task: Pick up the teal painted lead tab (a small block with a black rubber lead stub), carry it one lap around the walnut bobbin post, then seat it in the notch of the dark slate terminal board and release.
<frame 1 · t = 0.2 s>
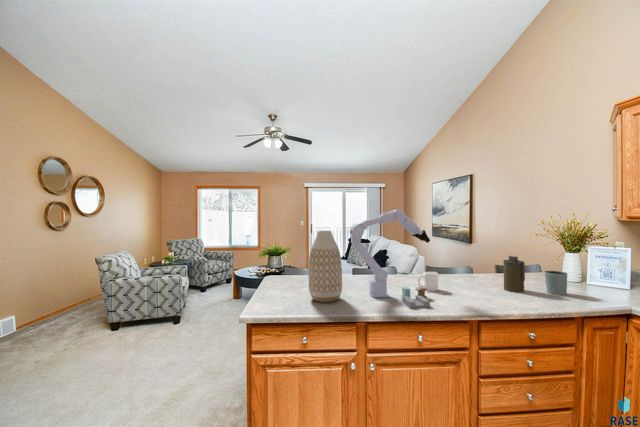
hand: (426, 240, 167), 31 cm above the worktop, tool tilted 45°, fingers open, 7 cm apart
bobbin: (421, 297, 160), on the worktop
cup: (427, 289, 176), on the worktop
vase: (325, 299, 160), on the worktop
grey pot: (556, 293, 164), on the worktop
board: (415, 304, 148), on the worktop
tab: (406, 299, 158), on the worktop
canister: (514, 290, 171), on the worktop
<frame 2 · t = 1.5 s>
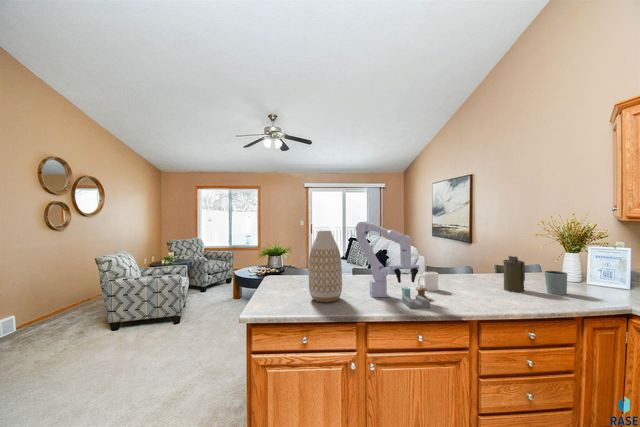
hand: (406, 282, 158), 9 cm above the worktop, tool pointing down, fingers open, 7 cm apart
nothing on the worktop moved.
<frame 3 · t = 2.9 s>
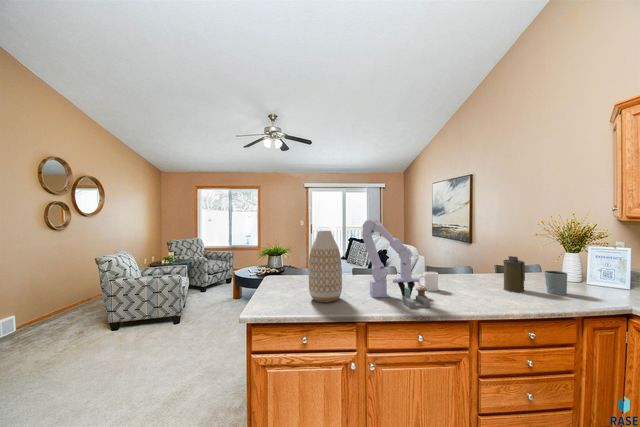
hand: (406, 295, 158), 2 cm above the worktop, tool pointing down, fingers closed on tab, 3 cm apart
tab: (406, 298, 158), on the worktop, touching gripper
everything else where it was.
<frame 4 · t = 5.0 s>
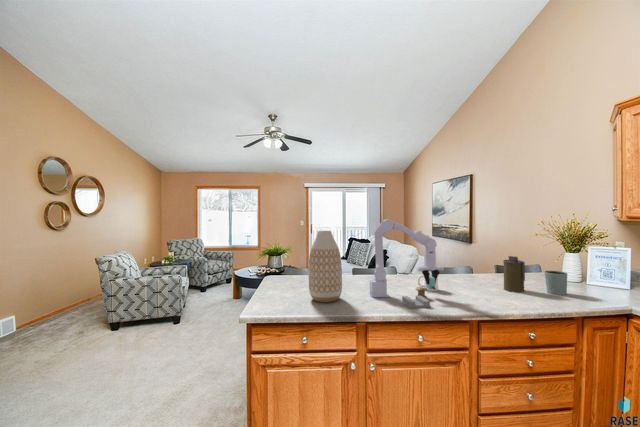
hand: (430, 283, 160), 7 cm above the worktop, tool pointing down, fingers closed on tab, 3 cm apart
tab: (430, 288, 160), point 5 cm above the worktop, touching gripper
everything else where it was.
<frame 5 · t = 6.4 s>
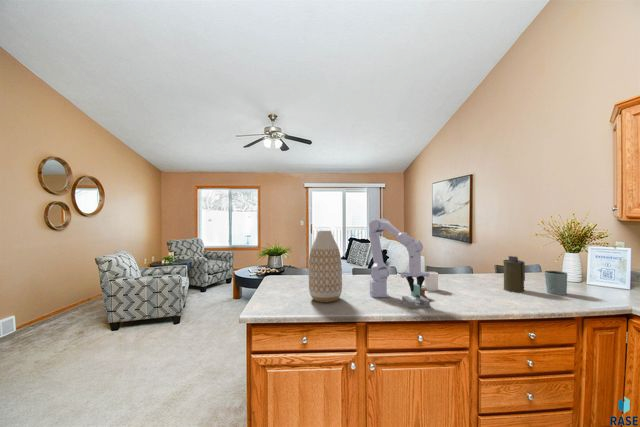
hand: (415, 291, 148), 7 cm above the worktop, tool pointing down, fingers closed on tab, 3 cm apart
tab: (415, 296, 148), point 4 cm above the worktop, touching gripper
everything else where it was.
when the fingers open (4 cm above the worktop, at t = 7.2 s): tab stays where it is, resting on board.
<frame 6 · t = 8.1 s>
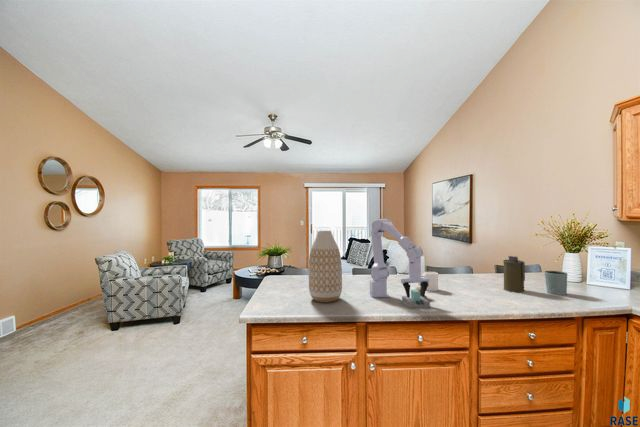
hand: (415, 296, 148), 4 cm above the worktop, tool pointing down, fingers open, 7 cm apart
tab: (415, 302, 148), point 1 cm above the worktop, touching board
everything else where it was.
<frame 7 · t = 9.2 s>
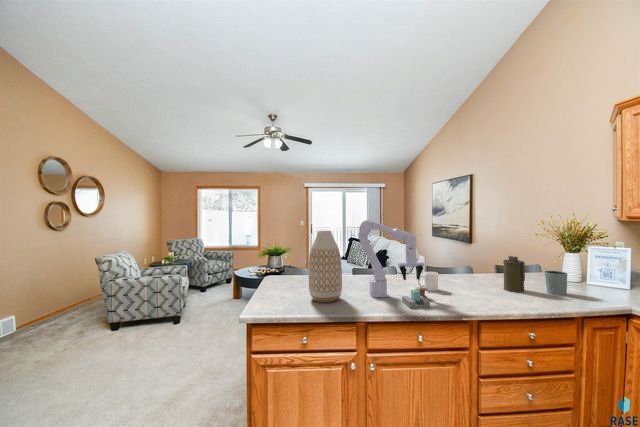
hand: (411, 279, 161), 10 cm above the worktop, tool pointing down, fingers open, 7 cm apart
nothing on the worktop moved.
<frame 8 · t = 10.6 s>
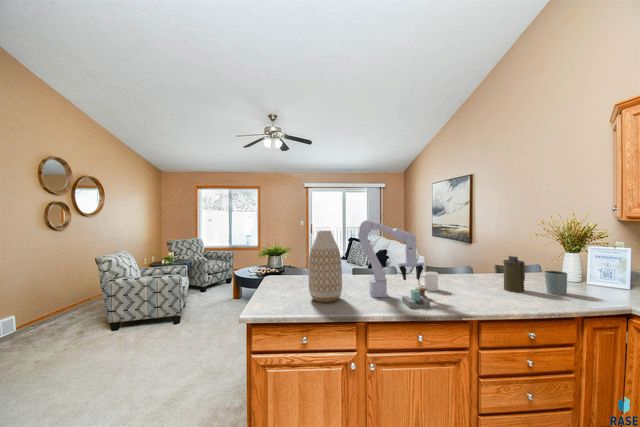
hand: (411, 279, 161), 10 cm above the worktop, tool pointing down, fingers open, 7 cm apart
nothing on the worktop moved.
at the end: tab inside the target area on the board (0.0 cm from its centre), point 1.2 cm above the board's base; tab tilted 0°; the gripper is holding nothing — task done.
